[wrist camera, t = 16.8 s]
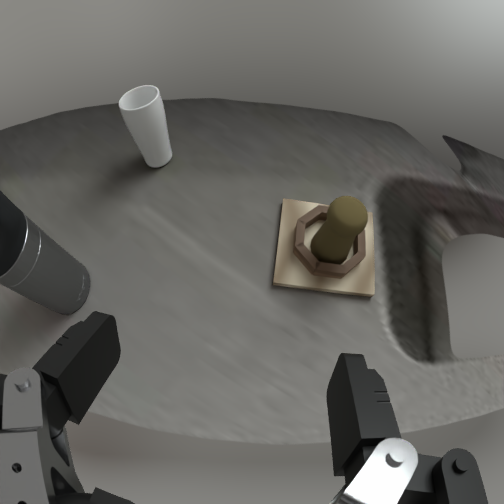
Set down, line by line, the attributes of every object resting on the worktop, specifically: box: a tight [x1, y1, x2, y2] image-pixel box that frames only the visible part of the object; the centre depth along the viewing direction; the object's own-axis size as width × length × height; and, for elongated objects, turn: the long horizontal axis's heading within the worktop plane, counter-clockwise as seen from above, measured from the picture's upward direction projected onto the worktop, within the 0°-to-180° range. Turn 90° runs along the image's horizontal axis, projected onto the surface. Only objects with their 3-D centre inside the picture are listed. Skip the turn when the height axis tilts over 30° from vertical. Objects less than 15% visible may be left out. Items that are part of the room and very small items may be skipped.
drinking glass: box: [119, 85, 172, 167], centre depth 45 cm, size 7×7×15 cm
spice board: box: [273, 199, 374, 297], centre depth 44 cm, size 15×14×4 cm
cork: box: [310, 196, 368, 265], centre depth 39 cm, size 6×6×11 cm
